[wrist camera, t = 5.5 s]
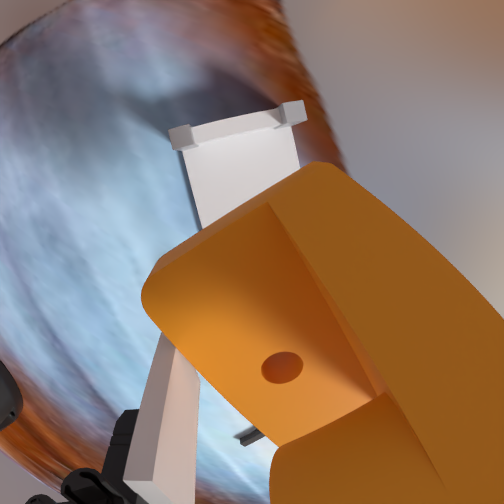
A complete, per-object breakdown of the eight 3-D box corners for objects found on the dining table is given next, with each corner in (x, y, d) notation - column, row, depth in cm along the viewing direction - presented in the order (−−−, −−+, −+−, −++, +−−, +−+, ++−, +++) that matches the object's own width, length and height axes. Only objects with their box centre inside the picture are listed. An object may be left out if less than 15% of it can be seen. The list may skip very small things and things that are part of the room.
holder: (227, 313, 29) (230, 347, 23) (179, 135, 23) (167, 129, 18) (319, 289, 29) (339, 318, 24) (285, 111, 24) (302, 100, 18)
